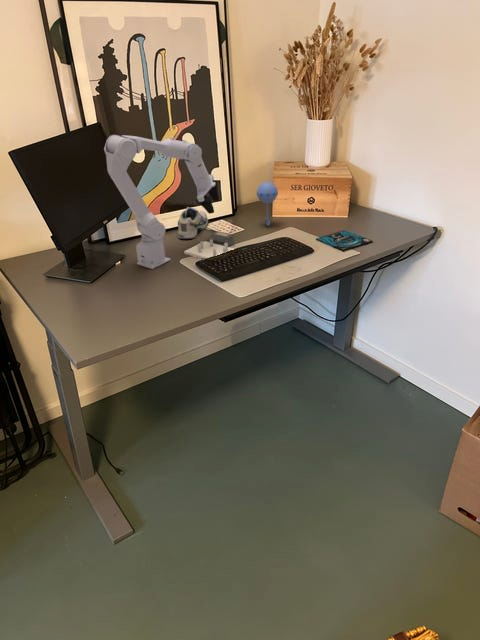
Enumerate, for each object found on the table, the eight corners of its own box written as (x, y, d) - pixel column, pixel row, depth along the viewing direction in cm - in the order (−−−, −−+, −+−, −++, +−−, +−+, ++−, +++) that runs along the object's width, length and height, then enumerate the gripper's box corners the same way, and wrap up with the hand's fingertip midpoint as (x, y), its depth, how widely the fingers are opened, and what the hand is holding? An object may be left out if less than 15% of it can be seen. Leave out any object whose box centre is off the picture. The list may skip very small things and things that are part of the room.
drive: (234, 244, 186) (233, 234, 184) (228, 248, 183) (227, 237, 181) (217, 240, 190) (217, 230, 188) (211, 244, 187) (210, 234, 185)
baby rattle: (254, 223, 205) (253, 180, 196) (273, 220, 207) (273, 178, 198) (261, 229, 198) (260, 185, 189) (280, 227, 200) (281, 183, 191)
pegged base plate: (218, 263, 170) (217, 253, 168) (184, 253, 179) (183, 244, 177) (238, 252, 178) (238, 243, 177) (205, 243, 187) (204, 235, 185)
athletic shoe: (211, 220, 209) (202, 194, 204) (202, 241, 190) (192, 212, 184) (189, 226, 212) (180, 200, 206) (178, 246, 192) (168, 218, 186)
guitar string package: (343, 250, 175) (316, 238, 186) (342, 253, 176) (315, 241, 187) (372, 240, 182) (344, 229, 193) (372, 243, 182) (344, 232, 194)
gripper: (204, 184, 165) (219, 216, 174) (215, 161, 174) (228, 193, 183) (186, 188, 167) (201, 219, 176) (197, 165, 177) (211, 196, 186)
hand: (214, 206), depth 180 cm, fingers open, 7 cm apart
